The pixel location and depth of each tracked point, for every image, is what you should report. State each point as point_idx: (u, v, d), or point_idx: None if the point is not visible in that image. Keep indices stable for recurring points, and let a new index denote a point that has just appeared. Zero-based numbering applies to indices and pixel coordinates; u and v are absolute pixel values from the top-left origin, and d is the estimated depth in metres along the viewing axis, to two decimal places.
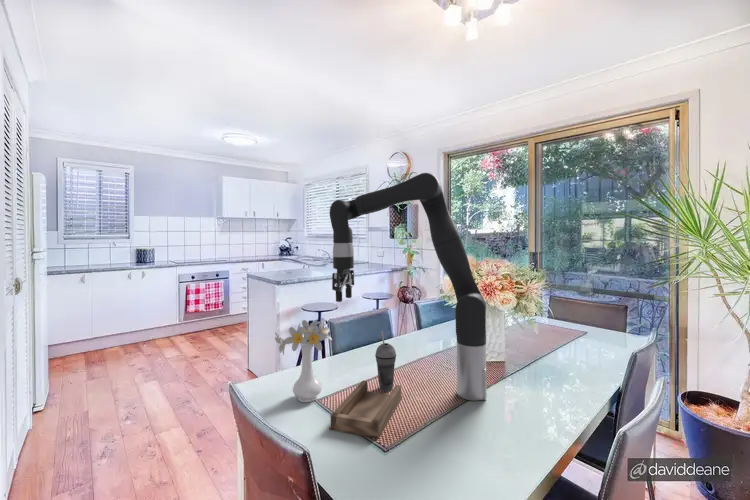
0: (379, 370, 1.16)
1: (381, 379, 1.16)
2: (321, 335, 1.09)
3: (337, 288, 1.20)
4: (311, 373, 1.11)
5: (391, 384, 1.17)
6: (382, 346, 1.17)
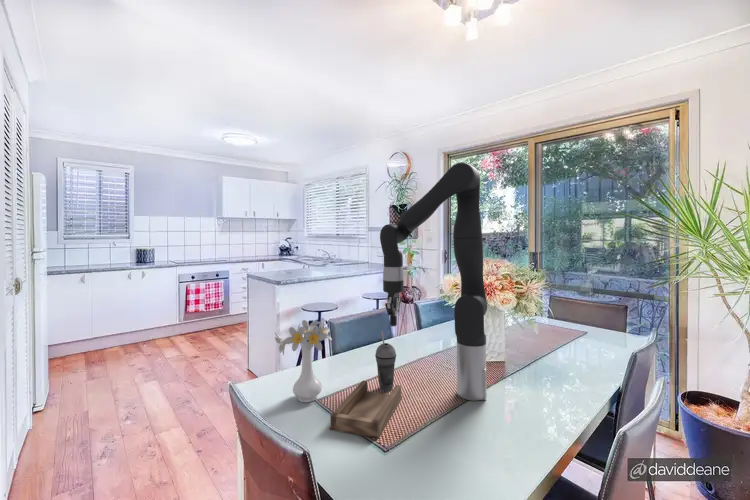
0: (379, 370, 1.16)
1: (381, 379, 1.16)
2: (321, 335, 1.09)
3: (393, 313, 1.24)
4: (311, 373, 1.11)
5: (391, 384, 1.17)
6: (382, 346, 1.17)
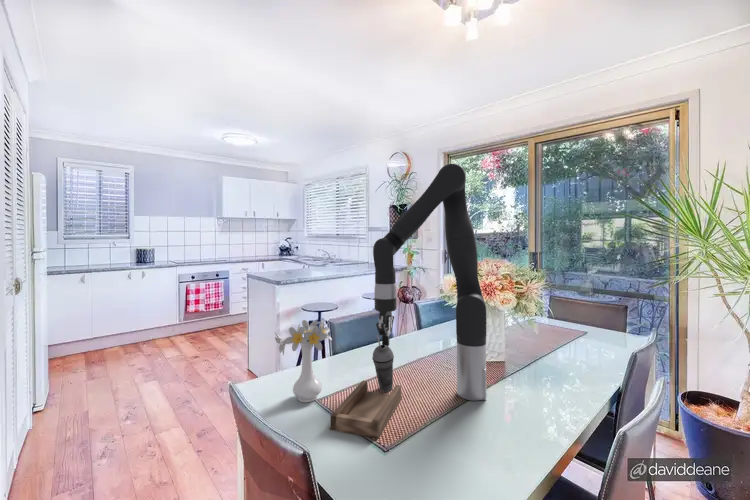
0: (377, 372, 1.15)
1: (380, 380, 1.15)
2: (321, 335, 1.09)
3: (385, 334, 1.16)
4: (311, 373, 1.11)
5: (390, 384, 1.16)
6: (379, 349, 1.14)
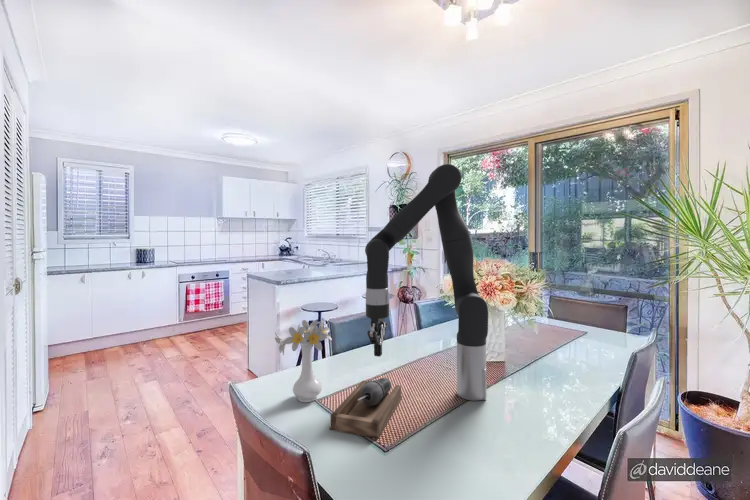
0: None
1: None
2: (321, 335, 1.09)
3: (377, 342, 1.07)
4: (311, 373, 1.11)
5: None
6: (366, 401, 1.02)
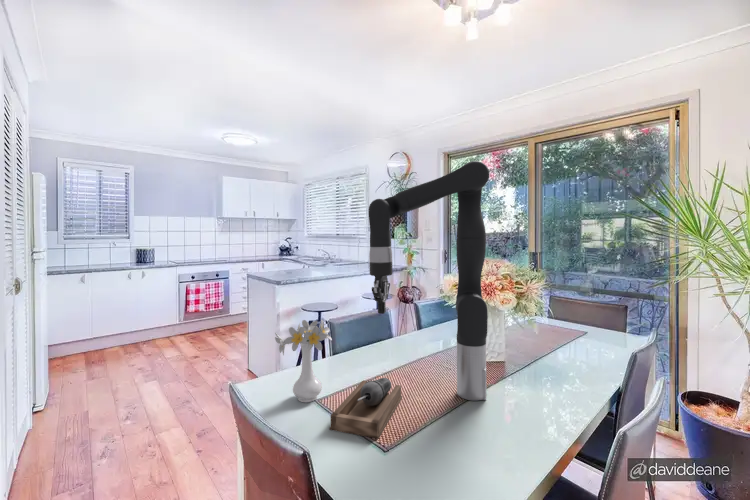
0: None
1: None
2: (321, 335, 1.09)
3: (380, 299, 1.10)
4: (311, 373, 1.11)
5: None
6: (366, 401, 1.02)
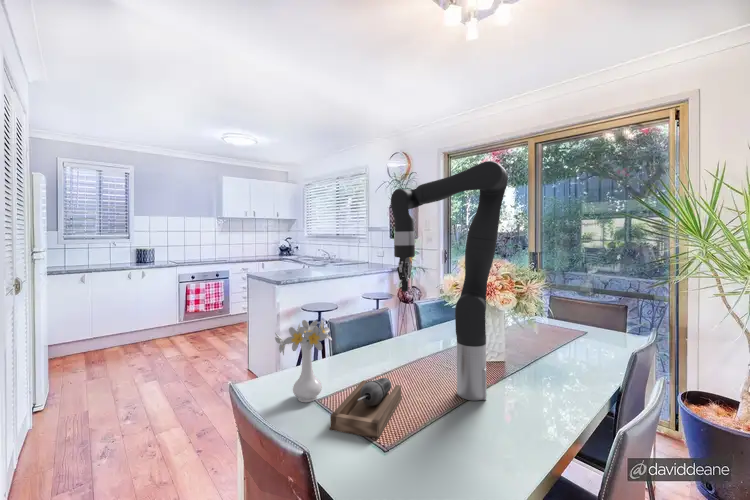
0: None
1: None
2: (321, 335, 1.09)
3: (404, 278, 1.24)
4: (311, 373, 1.11)
5: None
6: (366, 401, 1.02)
